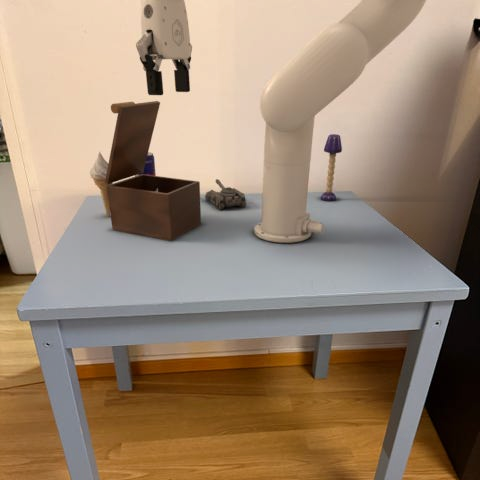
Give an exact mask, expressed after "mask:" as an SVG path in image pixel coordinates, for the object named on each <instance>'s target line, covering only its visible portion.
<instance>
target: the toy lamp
mask: <svg viewBox="0 0 480 480" xmlns="http://www.w3.org/2000/svg"><path fill="white" fill-rule="evenodd" d="M341 138H342V137H341V135H340V134H335V133H331V134H329V135H328V136H327V139H326V142H325V144H324V148H323V152H324V153H328V157H329V158H328V166H327V168H328V169H327V177H326V185H325V186H326V187H325V191H324V192H323V193H322V194H321V195H320V200H321V201H325V202H335V201H336V200H337V196H336V194H335V193H334V192H333V186H334V175H335V168H336V157H337V154H341V153H342V151H343V146H342V139H341Z"/></svg>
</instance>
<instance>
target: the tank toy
mask: <svg viewBox="0 0 480 480" xmlns="http://www.w3.org/2000/svg"><path fill="white" fill-rule="evenodd" d="M215 184H216V185H218V186H219V188H220V192H219V191H216V190H213V189H210V190H209V191H207V192H205V194H204V198H205V200H206V201H207V202H208V203H210V204H211V205H212V206H213V207H214V208H216V209H217V210H218V211H219V210H220V211H221V210H224V209H225V207H228V208H231V207H234V206H235V207H237V206H238V207H239V208H245V207H247V200H246V195H245V193H244V192H242V191H240V190H238V189H236V188H235V187H233V188H232V187H229V186H228V187H227V186H226V187H225V186H224V184H223V183H222V182H221V180H220V179H218V178H216V179H215Z"/></svg>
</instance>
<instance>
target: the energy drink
mask: <svg viewBox="0 0 480 480" xmlns="http://www.w3.org/2000/svg"><path fill="white" fill-rule="evenodd" d="M141 174H145V175H153V176H157V175H156V162H155V156H154V153H153V152H149V151H148V155H147V159H146V163H145V167H144V171H143V173H141ZM141 174H138V175H141ZM138 175H135V176H138ZM135 176H134V177H135Z"/></svg>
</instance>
